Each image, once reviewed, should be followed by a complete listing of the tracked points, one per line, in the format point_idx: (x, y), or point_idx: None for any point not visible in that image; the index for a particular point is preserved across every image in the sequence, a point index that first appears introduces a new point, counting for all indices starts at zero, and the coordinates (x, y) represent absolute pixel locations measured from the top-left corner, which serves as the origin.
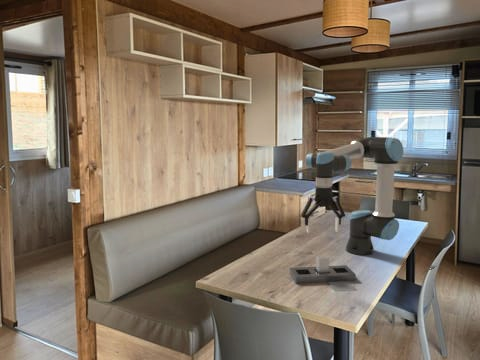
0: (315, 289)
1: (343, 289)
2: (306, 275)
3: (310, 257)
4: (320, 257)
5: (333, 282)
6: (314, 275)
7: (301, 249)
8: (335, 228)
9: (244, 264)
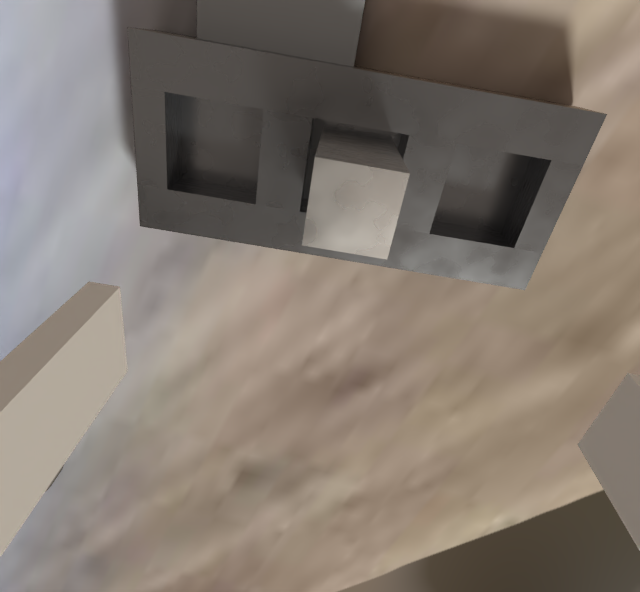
0: (481, 7)
1: None
2: (507, 127)
3: (267, 436)
4: (380, 199)
5: (318, 48)
6: (450, 109)
7: (268, 512)
8: (104, 388)
9: None
